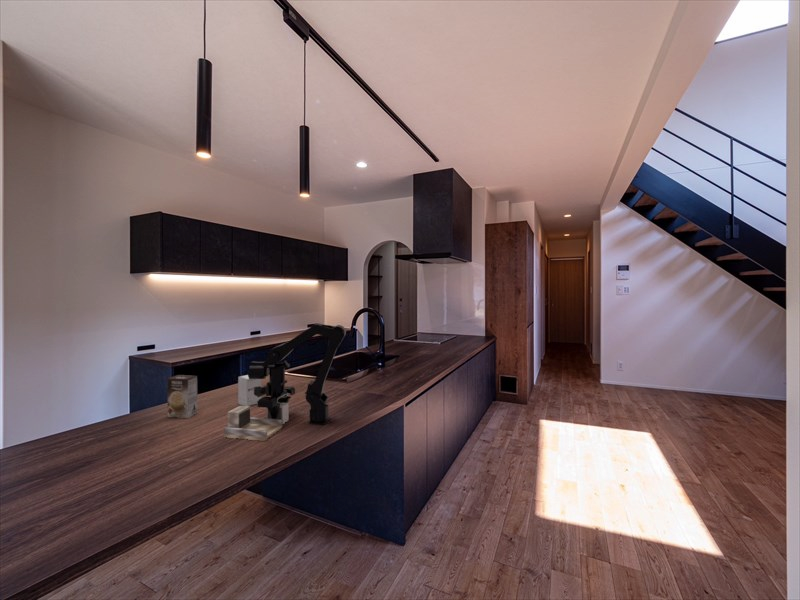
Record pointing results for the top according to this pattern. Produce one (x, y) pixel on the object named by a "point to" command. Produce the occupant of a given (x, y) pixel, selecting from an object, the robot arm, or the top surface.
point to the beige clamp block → (250, 425)
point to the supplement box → (247, 390)
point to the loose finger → (281, 413)
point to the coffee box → (182, 396)
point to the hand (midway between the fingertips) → (277, 417)
